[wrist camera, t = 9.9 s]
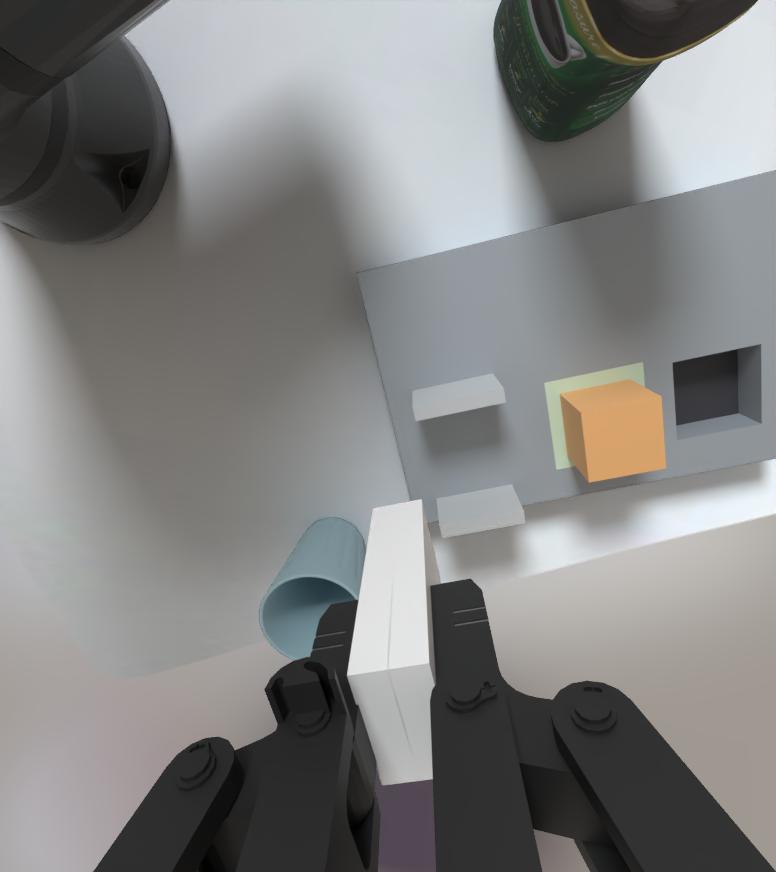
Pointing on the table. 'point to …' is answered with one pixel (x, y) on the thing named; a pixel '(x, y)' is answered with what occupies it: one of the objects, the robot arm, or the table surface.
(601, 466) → the orange block
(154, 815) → the robot arm
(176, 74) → the table surface
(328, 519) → the cup
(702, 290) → the platform
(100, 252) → the table surface
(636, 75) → the coffee jar
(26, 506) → the table surface
